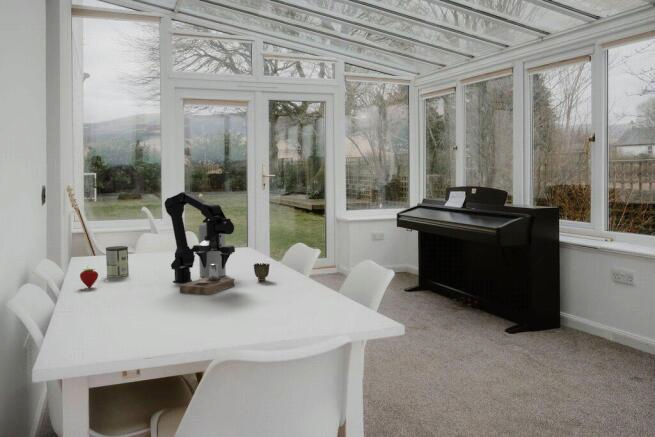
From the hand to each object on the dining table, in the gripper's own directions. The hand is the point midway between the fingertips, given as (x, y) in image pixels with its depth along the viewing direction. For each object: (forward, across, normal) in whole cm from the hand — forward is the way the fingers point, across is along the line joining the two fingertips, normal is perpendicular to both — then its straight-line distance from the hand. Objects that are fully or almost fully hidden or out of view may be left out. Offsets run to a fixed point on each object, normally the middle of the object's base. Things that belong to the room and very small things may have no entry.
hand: (213, 268), depth 242 cm
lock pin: (+8, 0, 0) cm, 8 cm away
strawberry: (+8, -51, -20) cm, 56 cm away
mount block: (+8, 0, -5) cm, 10 cm away
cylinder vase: (+8, -15, +23) cm, 29 cm away
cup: (+8, +14, +19) cm, 25 cm away
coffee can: (+8, -60, +8) cm, 61 cm away
